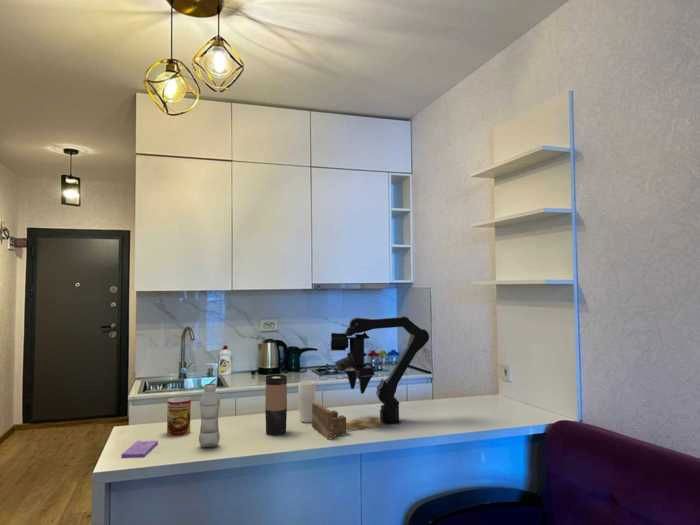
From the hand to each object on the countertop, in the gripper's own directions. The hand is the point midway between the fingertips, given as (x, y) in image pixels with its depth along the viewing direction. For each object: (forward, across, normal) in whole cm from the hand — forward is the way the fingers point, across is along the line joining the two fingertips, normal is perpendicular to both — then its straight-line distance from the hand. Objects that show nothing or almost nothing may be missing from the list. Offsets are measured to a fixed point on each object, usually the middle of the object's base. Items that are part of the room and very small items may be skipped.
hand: (357, 391), depth 191 cm
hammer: (+12, +7, -3) cm, 14 cm away
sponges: (+13, +2, -77) cm, 78 cm away
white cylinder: (+12, -10, -17) cm, 23 cm away
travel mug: (+12, 0, -32) cm, 34 cm away
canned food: (+12, -14, -64) cm, 67 cm away
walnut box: (+12, +7, -13) cm, 19 cm away
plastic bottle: (+12, +6, -56) cm, 58 cm away
